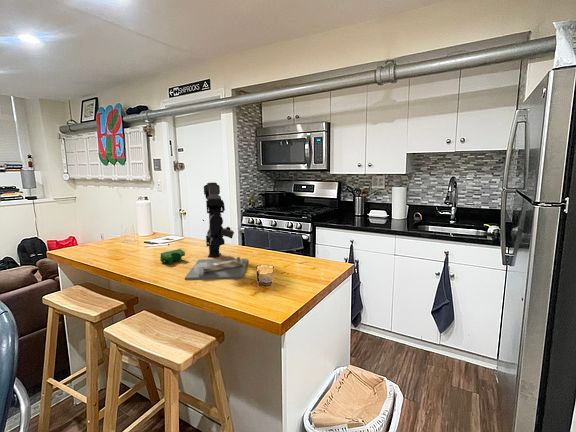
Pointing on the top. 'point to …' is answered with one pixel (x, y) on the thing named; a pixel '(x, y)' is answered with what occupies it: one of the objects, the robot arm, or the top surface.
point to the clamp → (172, 256)
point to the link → (225, 265)
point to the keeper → (200, 266)
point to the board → (219, 271)
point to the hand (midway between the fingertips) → (216, 255)
